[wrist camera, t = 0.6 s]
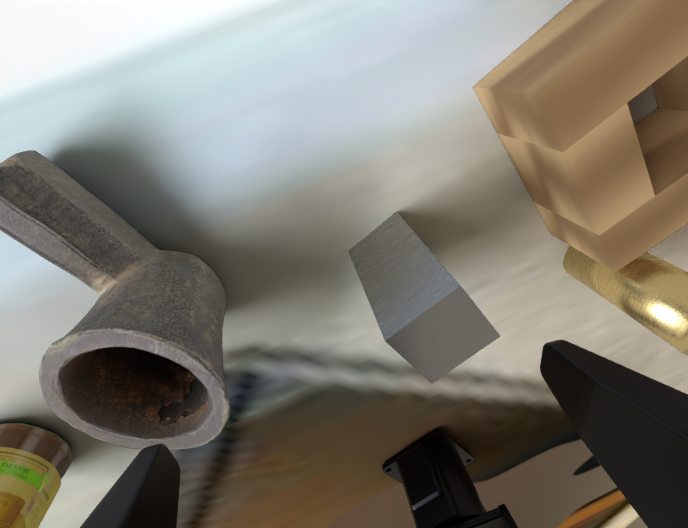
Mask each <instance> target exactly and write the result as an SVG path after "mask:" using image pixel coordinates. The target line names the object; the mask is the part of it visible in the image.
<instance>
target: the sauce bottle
mask: <svg viewBox="0 0 688 528" xmlns="http://www.w3.org/2000/svg"><path fill="white" fill-rule="evenodd" d="M72 458H73V456H72V453H71V447H70V446H69V445H68V444H67V443H66V441H64V440H62V439H61V438H60V437H59V436H58V435H57V434H55V433H53V432H51V431H47V430H45V429H42V428H39V427H35V426H32V425H28V424H23V423H10V424H0V528H38V527H39V525H40V523H41V521H42V520H43V518H44V516H45V514H46V512H47V510H48V509H49V507H50V505H51V503H52V501H53V499H54V498H55V496H56V494H57V492H58V490H59V488H60V485H61V479H62V477H63V476H64V475H65V473H66V471H67V469H68V468H69V466H70V463H71V461H72Z"/></svg>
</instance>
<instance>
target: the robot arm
mask: <svg viewBox="0 0 688 528" xmlns="http://www.w3.org/2000/svg"><path fill="white" fill-rule="evenodd" d="M540 370H541V374H542V376H543V378H544V380H545V381H546V383H547V385H548V386H549V388H550V390H551V391H552V393H553V394H554V396H555V398H556V399H557V401H558V403H559V404H560V406H561V407H562V409H563V411H564V412H565V414H566V416H567V417H568V419H569V420H570V422H571V424H572V425H573V427H574V428H575V430H576V431H577V433H578V435H579V436H580V438H581V439H582V440H583V442H584V443H585V444H586V446H587V447H588V448H589V450H590V451H591V452H592V454H593V455H594V456H595V458H596V459H597V460H598V462H599V463H600V464H601V466H602V467H603V468H604V470H605V471H606V472H607V474H608V475H609V476H610V478H611V479H612V480H613V482H614V483H615V484H616V486H617V487H618V488H619V490H620V491H621V492H622V494H623V495H624V496H625V498H626V499H627V500H628V502H629V503H630V504H631V505H632V507H633V508H634V509H635V511H636V512H637V513H638V515H639V516H640V517H641V519H642V520H643V521H644V523H645V524H646V525H647V527H648V528H688V394H685V393H683V392H681V391H679V390H676V389H674V388H672V387H670V386H667V385H665V384H663V383H660V382H658V381H656V380H654V379H651V378H649V377H647V376H645V375H642V374H640V373H638V372H635V371H633V370H631V369H629V368H626V367H624V366H622V365H620V364H617V363H615V362H613V361H611V360H608V359H606V358H604V357H601V356H599V355H597V354H595V353H592V352H590V351H588V350H586V349H583V348H581V347H579V346H577V345H574V344H572V343H570V342H567V341H565V340H556V341H552V342H548V343H546V344H545V345H544V346H543V351H542V358H541V364H540ZM473 460H474V458H473V456H472V455H471V453H469V452H468V451H467V450H466V449H465V448H463V447H462V446H461V445H460V444H458V443H457V442H456V441H455V440H453V439H452V438H451V437H450V436H449V435H447V434H446V433H445V432H444V431H442V430H441V429H438V430H435V431H433V432H432V433H430V434H429V435H427V436H426V437H424V438H423V439H421V440H419V441H418V442H416V443H415V444H413V445H412V446H410V447H409V448H407V449H406V450H404V451H403V452H401V453H400V454H398V455H397V456H395V457H393V458H392V459H390V460H389V461H387V462H386V463H384V464H383V465H382V469H383V472H384V473H385V474H387V475H389V476H390V477H392V478H393V479H395V480H397V481H398V482H400V483H402V484H403V487H404V490H405V493H406V496H407V500H408V503H409V506H410V509H411V513H412V516H413V519H414V522H415V525H416V528H518V527H517V525H516V523H515V521H514V520H513V518H512V516H511V515H510V513H509V511H508V509H507V508H506V506H505V504H502V505H500V506H498V508H496V509H493V510H491V511H488V512H487V511H486V509H485V507H484V505H483V503H482V501H481V499H480V497H479V495H478V492H477V490H476V488H475V486H474V484H473V482H472V480H471V478H470V476H469V474H468V472H467V470H466V467H465V466H467V465H468V464H470V463H471V462H473ZM179 485H180V467H179V464H178V462H177V461H176V459H175V458H174V456H173V455H172V453H171V452H170V451H169V449H168V448H167V446H166V445H164V444H156V445H153V446H149V447H146V448H144V449H143V450H142V451H140V453H139V454H138V455H137V456H136V458H135V459H134V460H133V461H132V463H131V464H130V465H129V466H128V468H127V469H126V470H125V471H124V473H123V474H122V475H121V476H120V478H119V479H118V480H117V482H116V483H115V484H114V485H113V487H112V488H111V489H110V490H109V492H108V493H107V494H106V495H105V497H104V498H103V499H102V500H101V502H100V503H99V504H98V505H97V507H96V508H95V509H94V510H93V512H92V513H91V514H90V515H89V517H88V518H87V519H86V521H85V522H84V523H83V524H82V526H81V527H80V528H176V525H177V512H178V499H179Z"/></svg>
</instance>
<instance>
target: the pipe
mask: <svg viewBox="0 0 688 528" xmlns="http://www.w3.org/2000/svg"><path fill="white" fill-rule="evenodd" d="M0 230H1V231H3V232H4V233H6V234H7V235H9V236H10V237H12V238H14V239H15V240H17V241H18V242H20V243H21V244H23V245H24V246H26V247H28V248H29V249H31V250H32V251H34V252H35V253H37V254H38V255H40V256H41V257H43V258H45V259H46V260H48V261H49V262H51V263H53V264H55V265H56V266H58V267H60V268H61V269H63V270H65V271H67V272H68V273H70V274H71V275H73V276H75V277H76V278H78V279H79V280H81V281H82V282H83V283H85V284H86V285H88V286H89V287H91V288H92V289H93V290H95V291H96V292H97V293H99V294H100V297H99V298H98V300H97V302H96V303H95V305H94V306H93V307H92V308H91V310H90V311H89V312H88V314H87V315H86V316H85V317H84V318H83V319H82V320H81V321H80V322H79V323H78V324H77V325H76V326H75V327H74V329H72V330H71V331H70V332H69V333H68V334H67V335H65V336H64V337H63V338H61V339H59V340H58V341H56V342H54V343H52V344H51V346H50V347H49V349H48V350H47V351H46V353H45V354H44V356H43V357H42V360H41V363H40V368H39V380H40V386H41V389H42V392H43V395H44V398H45V400H46V402H47V403H48V405H49V406H50V407H51V409H52V410H53V411H54V412H55V414H56V415H57V416H58V417H59V418H61V419H62V420H63V421H65V422H67V423H69V424H70V425H71V426H72V427H74V428H76V429H78V430H80V431H82V432H84V433H86V434H88V435H89V436H91V437H92V438H95V439H98V440H101V441H105V442H107V443H110V444H113V445H117V446H122V447H127V448H132V449H144V448H146V447H149V446H153V445H156V444H164V445H166V446H167V448H168V449H169V450H171V449H187V448H191V447H193V448H194V447H198V446H202V445H204V444H207V443H208V442H209V441H211V440H212V439H214V438H215V437H216V436H217V435H218V434H219V433H220V432H221V431H222V429H223V427H224V425H225V423H226V422H227V420H228V418H229V413H230V405H229V397H228V393H227V390H226V386H225V382H224V370H223V351H222V329H223V320H224V315H225V310H226V294H225V291H224V288H223V285H222V283H221V281H220V280H219V278H218V277H217V275H216V274H215V273H214V271H213V270H212V269H211V268H210V267H209V266H208V265H207V264H206V263H204V262H203V261H202V260H200V259H199V258H198V257H196V256H194V255H192V254H189V253H185V252H179V251H168V250H159V249H157V248H156V247H154V246H153V245H152V244H151V243H150V242H149V241H148V240H146V239H145V238H144V237H143V236H142V235H141V234H140V233H139V232H138V231H136V230H135V229H134V228H133V227H132V226H131V225H129V224H128V223H127V222H126V221H125V220H124V219H123V218H122V217H121V216H119V215H118V214H117V213H115V212H114V211H113V210H112V209H111V208H110V207H109V206H107V205H106V204H105V203H103V202H102V201H101V200H100V199H98V198H97V197H96V196H94V195H93V194H92V193H91V192H89V191H88V190H86V189H85V188H84V187H82V186H81V185H80V184H79V183H78V182H77V181H75V180H74V179H73V178H72V177H70V176H69V175H68V174H67V173H65V172H64V171H63V170H62V169H60V168H59V167H58V166H57V165H55V164H54V163H53V162H51V161H50V160H48V159H47V158H45V157H44V156H42V155H41V154H39V153H38V152H36V151H25V152H20V153H17V154H15V155H13V156H11V157H10V158H8V159H6V160H5V161H3V162H2V163H0Z"/></svg>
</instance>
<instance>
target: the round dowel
mask: <svg viewBox="0 0 688 528" xmlns="http://www.w3.org/2000/svg"><path fill="white" fill-rule="evenodd" d="M564 268H565V270H566V272H567V273H568V274H570V275H571V276H573V277H574V278H576V279H577V280H579V281H580V282H581V283H583V284H584V285H586V286H587V287H589V288H590V289H592V290H593V291H594V292H596V293H597V294H599V295H600V296H602V297H603V298H604V299H606V300H607V301H609V302H610V303H612V304H613V305H615V306H616V307H617V308H619V309H620V310H622V311H623V312H625V313H626V314H627V315H629V316H630V317H632V318H633V319H635V320H636V321H638V322H639V323H640V324H642V325H643V326H645V327H646V328H648V329H649V330H650V331H652V332H653V333H655V334H656V335H658V336H659V337H661V338H662V339H663V340H665V341H666V342H668V343H669V344H671V345H672V346H674V347H675V348H676V349H678V350H679V351H681V352H682V353H684V354H686V355H688V272H686V271H684V270H682V269H680V268H678V267H676V266H674V265H672V264H670V263H668V262H666V261H664V260H662V259H660V258H658V257H656V256H654V255H652V254H650V253H648V252H645V253H643V254H642V255H640V256H639V257H637V258H636V259H634V260H633V261H631V262H630V263H628V264H627V265H626V266H624V267H623V268H621V269H620V270H618V271H617V272H614V271H612V270H611V269H609V268H607V267H606V266H604V265H602V264H601V263H599V262H597V261H595V260H594V259H592V258H590V257H589V256H587V255H585V254H584V253H582V252H580V251H579V250H577V249H575V248H574V247H572V246H570V247H569V249H568V250H567V252H566V254H565V257H564Z"/></svg>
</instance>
